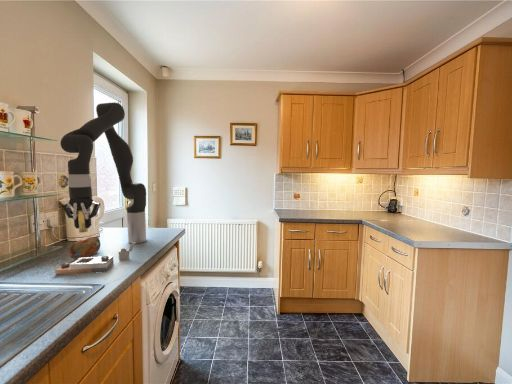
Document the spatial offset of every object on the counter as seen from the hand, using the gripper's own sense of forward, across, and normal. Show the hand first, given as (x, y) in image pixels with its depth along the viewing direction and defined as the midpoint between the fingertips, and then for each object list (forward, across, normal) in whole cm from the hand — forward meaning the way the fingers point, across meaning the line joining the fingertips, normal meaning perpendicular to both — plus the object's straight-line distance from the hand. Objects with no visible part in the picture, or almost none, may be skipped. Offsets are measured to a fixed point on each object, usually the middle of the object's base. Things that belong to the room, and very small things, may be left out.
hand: (83, 227), depth 102 cm
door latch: (+18, 0, 0) cm, 18 cm away
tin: (+18, +8, -17) cm, 26 cm away
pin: (+2, 0, 0) cm, 2 cm away
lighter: (+18, -13, -10) cm, 24 cm away
